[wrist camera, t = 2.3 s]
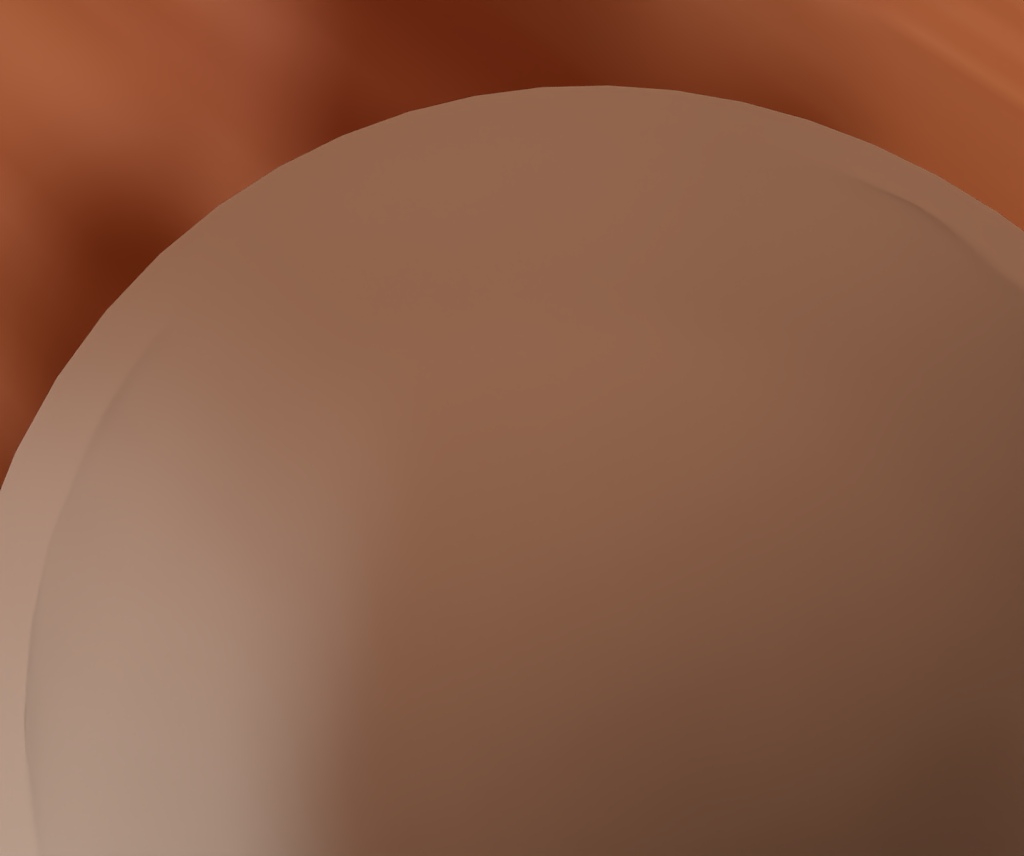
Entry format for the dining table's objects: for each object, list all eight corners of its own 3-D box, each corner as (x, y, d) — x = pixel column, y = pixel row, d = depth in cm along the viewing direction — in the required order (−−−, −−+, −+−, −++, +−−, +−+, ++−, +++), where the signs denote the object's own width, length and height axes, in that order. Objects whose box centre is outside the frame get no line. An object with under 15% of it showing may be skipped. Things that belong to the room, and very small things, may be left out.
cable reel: (616, 1087, 15) (1432, 1921, 3) (222, 935, 15) (-434, 1148, 3) (712, 678, 18) (1323, 286, 6) (379, 559, 18) (323, -36, 6)
